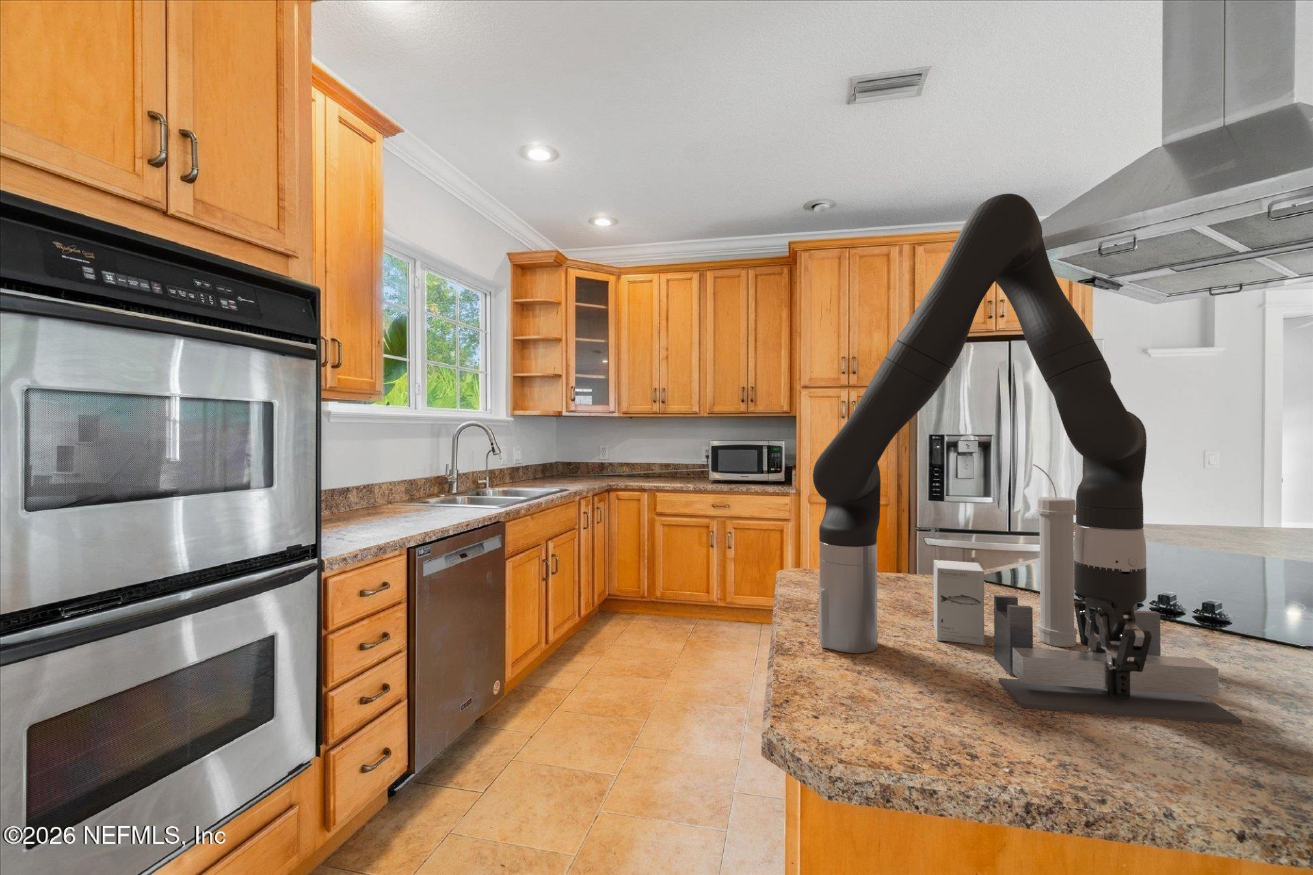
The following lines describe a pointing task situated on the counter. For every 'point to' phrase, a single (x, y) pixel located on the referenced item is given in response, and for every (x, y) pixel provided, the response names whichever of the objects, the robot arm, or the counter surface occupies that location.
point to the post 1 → (1011, 629)
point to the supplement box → (959, 602)
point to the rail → (1093, 672)
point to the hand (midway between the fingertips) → (1110, 690)
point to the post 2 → (1149, 629)
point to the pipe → (1056, 570)
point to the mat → (1117, 702)
